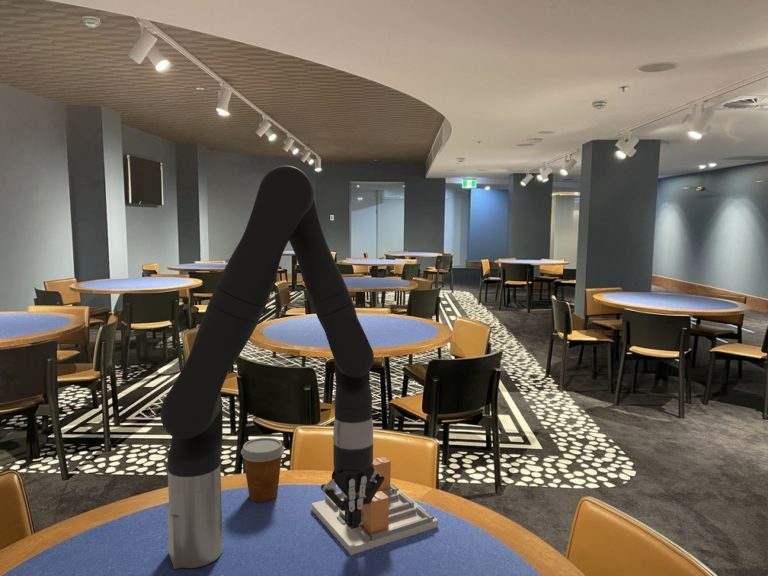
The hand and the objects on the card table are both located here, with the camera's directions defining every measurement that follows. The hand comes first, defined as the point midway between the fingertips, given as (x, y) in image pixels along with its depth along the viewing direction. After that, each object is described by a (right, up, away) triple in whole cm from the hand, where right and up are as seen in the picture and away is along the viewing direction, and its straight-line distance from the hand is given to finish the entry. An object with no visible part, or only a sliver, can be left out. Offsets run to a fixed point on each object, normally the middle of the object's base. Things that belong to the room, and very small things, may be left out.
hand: (353, 526), depth 106 cm
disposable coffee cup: (-22, -2, +20) cm, 30 cm away
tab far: (+5, 0, +19) cm, 20 cm away
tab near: (+4, -2, +3) cm, 6 cm away
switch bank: (+4, -3, +11) cm, 12 cm away
